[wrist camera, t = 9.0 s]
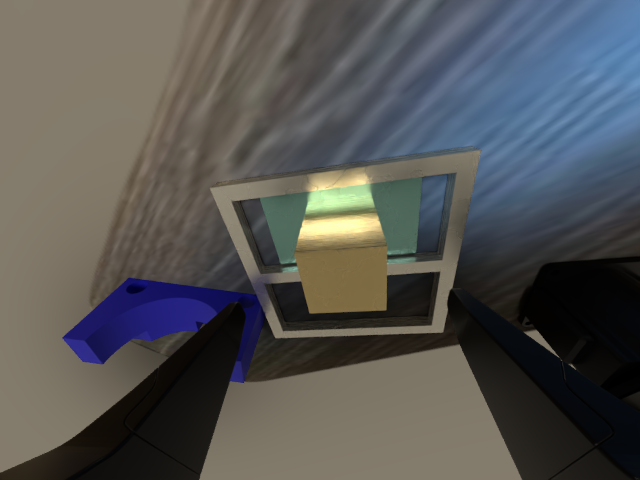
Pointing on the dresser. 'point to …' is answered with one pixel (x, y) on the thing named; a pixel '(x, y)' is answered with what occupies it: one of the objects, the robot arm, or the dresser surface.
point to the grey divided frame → (395, 218)
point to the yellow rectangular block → (342, 256)
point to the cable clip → (160, 319)
